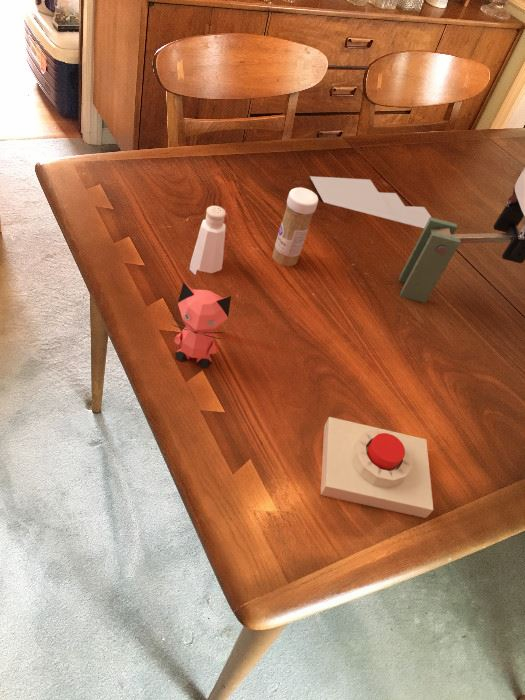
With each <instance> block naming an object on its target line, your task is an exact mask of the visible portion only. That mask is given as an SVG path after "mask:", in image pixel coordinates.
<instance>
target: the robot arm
mask: <svg viewBox="0 0 525 700" xmlns="http://www.w3.org/2000/svg"><path fill="white" fill-rule="evenodd" d="M512 190H513V191H512V195H511V196H510V197H509V198H508V199H507V201H506V206H504V208H503V210H502V211H501V213H500V215H498V218H497V220H496V221H495V223H494V224H493V225H492V227H493V229H494V230H495V231H498V232H501V233H508V230H507V227H508V225H510V224H512V223H514V224H516V225H517V227H518V226H519V225H520V223H521V222H522V220H523V218H525V167H524V168H523V170H522V171H521V172H520V173H519V175H518V178H517V180H516V182H515V184H514V187H513V189H512ZM501 257H502V259H503V260H506V261H509V262H513V263H518V264H523V263H524V262H525V220H524V221H523V223H522V226H521V229H520V230H519V235H515V236H514V238H513V239H512V241H511V242H509V243H508V245H507V247H506V248H505V249H504V251H503V252H502V254H501Z"/></svg>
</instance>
